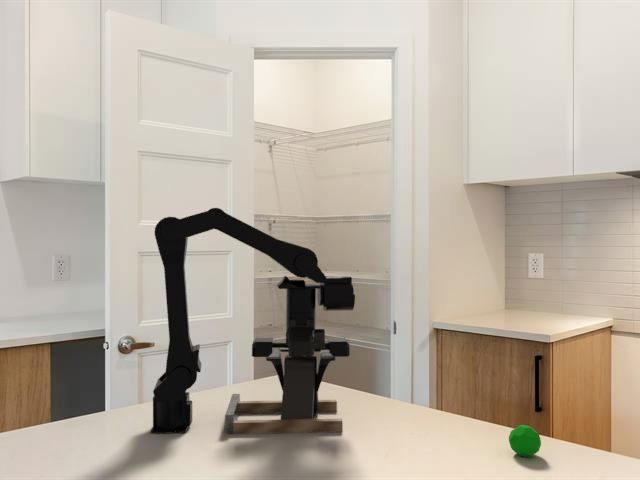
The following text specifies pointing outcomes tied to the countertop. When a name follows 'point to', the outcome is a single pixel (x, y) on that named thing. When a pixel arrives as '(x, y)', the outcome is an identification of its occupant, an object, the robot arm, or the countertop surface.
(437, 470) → the countertop surface
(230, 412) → the end stop
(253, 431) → the guide track
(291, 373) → the phone stand
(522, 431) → the polyhedron
